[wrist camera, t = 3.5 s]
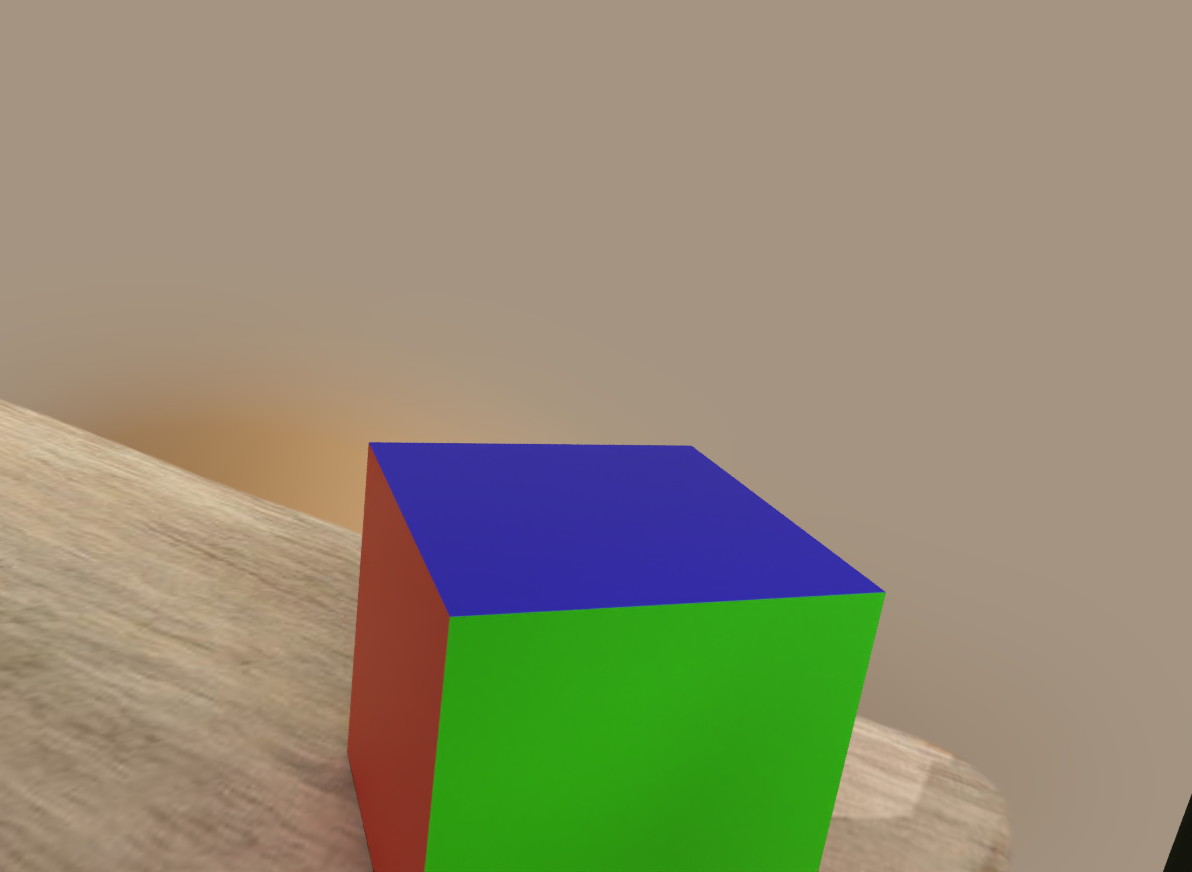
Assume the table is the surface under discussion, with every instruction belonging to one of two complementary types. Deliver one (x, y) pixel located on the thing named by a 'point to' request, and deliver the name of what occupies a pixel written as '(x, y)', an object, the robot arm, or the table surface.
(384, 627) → the cube
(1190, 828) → the robot arm
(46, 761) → the table surface
